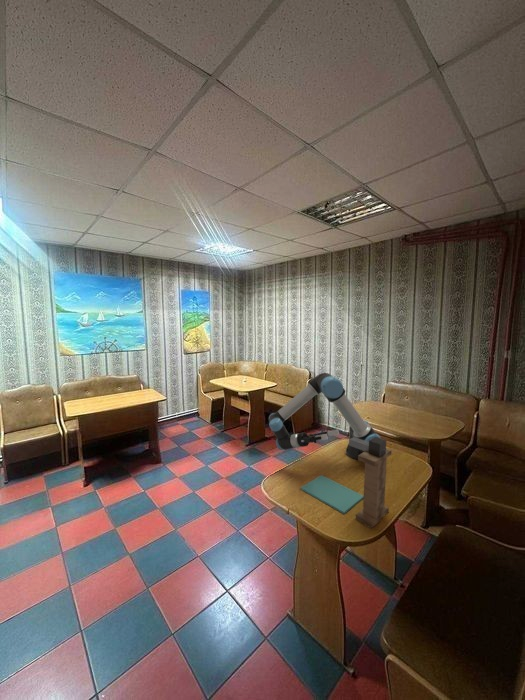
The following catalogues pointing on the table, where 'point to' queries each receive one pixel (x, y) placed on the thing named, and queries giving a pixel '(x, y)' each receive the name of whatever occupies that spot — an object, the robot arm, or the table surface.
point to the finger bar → (370, 446)
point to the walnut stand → (373, 489)
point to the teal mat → (332, 494)
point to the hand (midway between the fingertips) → (333, 434)
